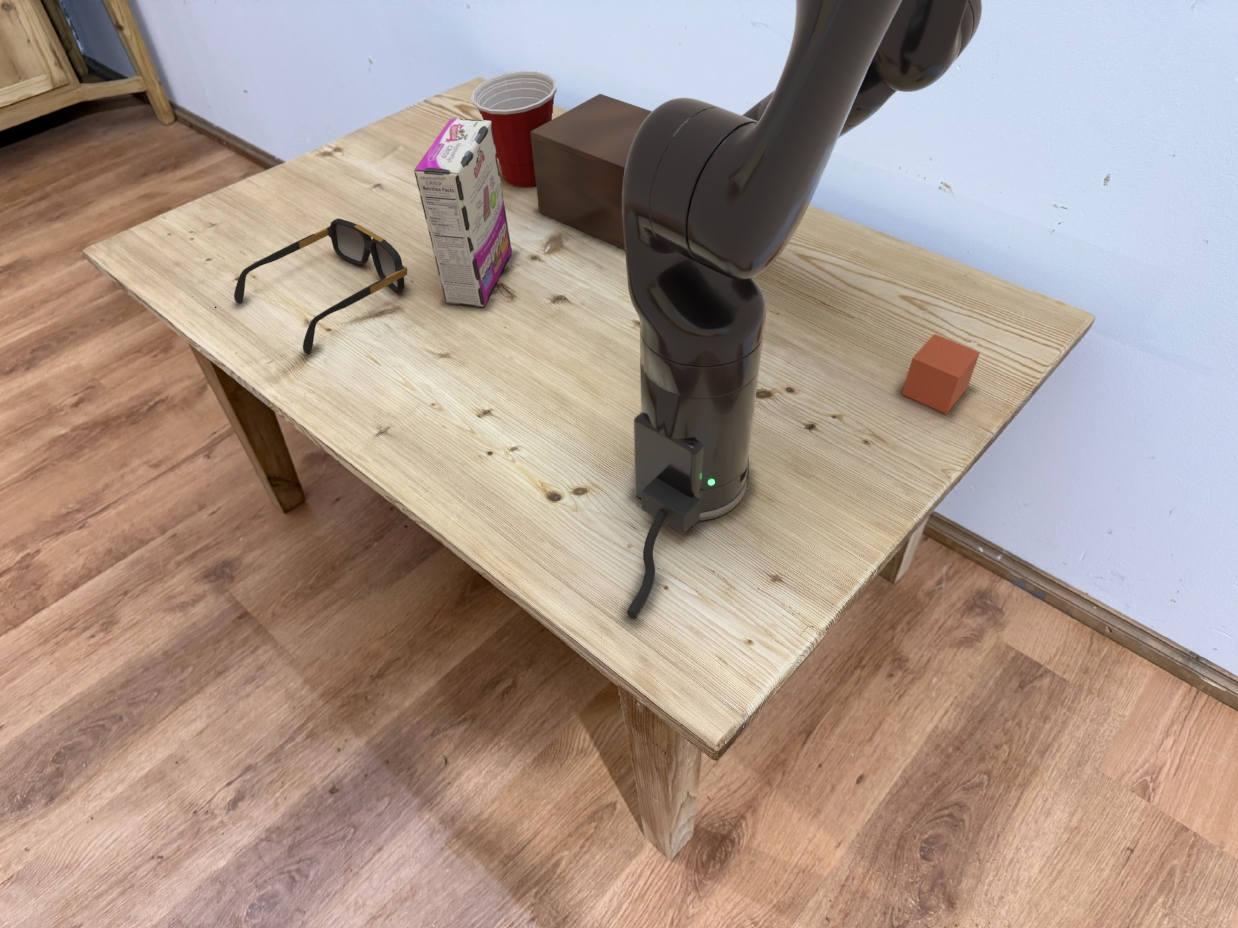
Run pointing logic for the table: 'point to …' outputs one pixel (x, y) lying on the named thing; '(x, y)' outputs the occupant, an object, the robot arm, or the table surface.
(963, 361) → the block
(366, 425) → the table surface
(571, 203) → the dark wooden cube
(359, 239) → the sunglasses
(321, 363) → the table surface
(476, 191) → the candy bar box
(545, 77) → the plastic cup
